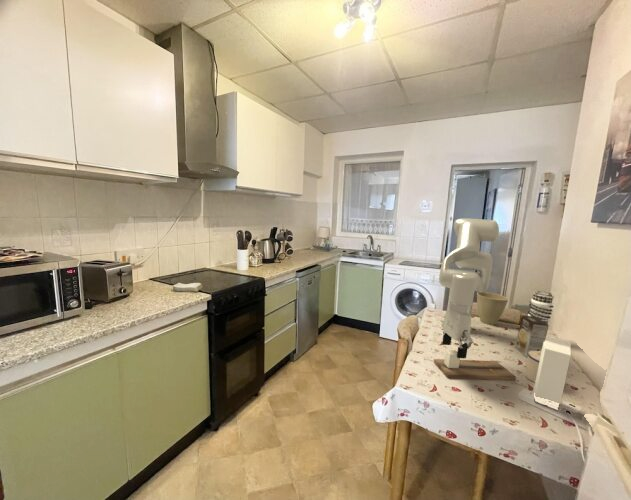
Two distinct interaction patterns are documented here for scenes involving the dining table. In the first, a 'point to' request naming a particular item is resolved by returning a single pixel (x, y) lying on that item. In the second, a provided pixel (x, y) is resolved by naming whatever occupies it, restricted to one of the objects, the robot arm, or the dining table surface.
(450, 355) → the fader tab
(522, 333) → the coffee box
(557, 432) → the dining table surface
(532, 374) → the teacup with lid
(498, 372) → the wooden board
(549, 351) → the milk
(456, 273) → the robot arm
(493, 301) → the plant pot
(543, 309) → the decorative candle
